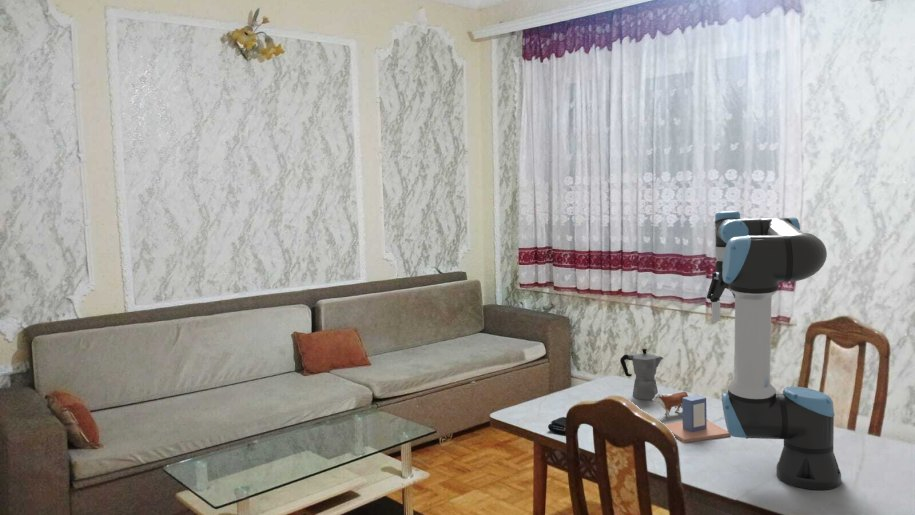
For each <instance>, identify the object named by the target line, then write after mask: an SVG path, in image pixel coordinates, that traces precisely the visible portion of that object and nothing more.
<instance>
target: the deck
mask: <svg viewBox="0 0 915 515" xmlns="http://www.w3.org/2000/svg"><path fill="white" fill-rule="evenodd" d="M681 409H682V422H683V429H685V430H687V431H690V432H695V431H700V430H704V429H707V420H708V419H707V397H704V396H702V395H700V394H694V395H688V397H683V398H682V408H681Z"/></svg>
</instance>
